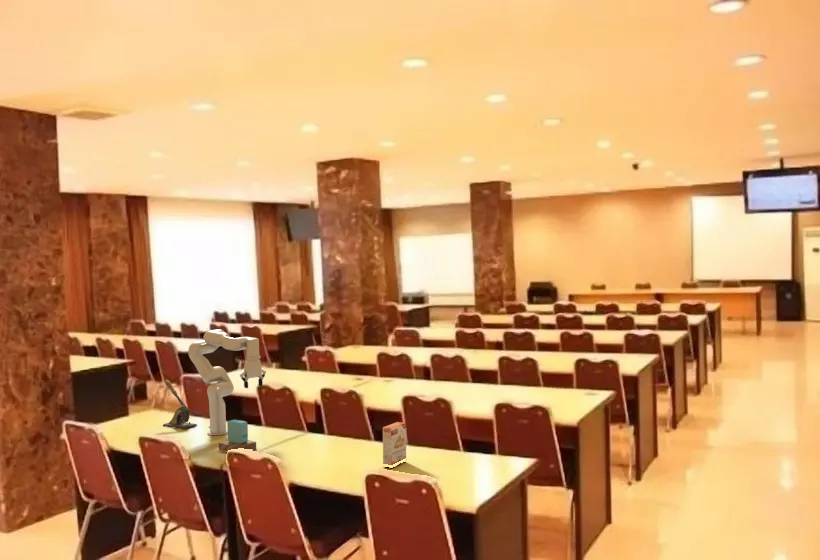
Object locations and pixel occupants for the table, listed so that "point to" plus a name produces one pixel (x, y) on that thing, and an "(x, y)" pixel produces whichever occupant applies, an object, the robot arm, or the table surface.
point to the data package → (237, 431)
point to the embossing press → (179, 413)
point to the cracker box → (394, 443)
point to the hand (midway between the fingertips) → (253, 386)
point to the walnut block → (237, 445)
